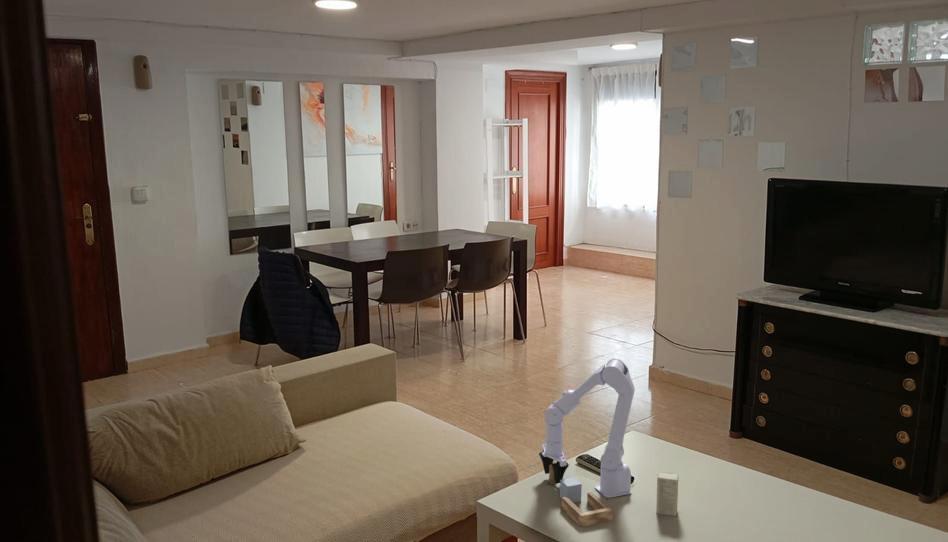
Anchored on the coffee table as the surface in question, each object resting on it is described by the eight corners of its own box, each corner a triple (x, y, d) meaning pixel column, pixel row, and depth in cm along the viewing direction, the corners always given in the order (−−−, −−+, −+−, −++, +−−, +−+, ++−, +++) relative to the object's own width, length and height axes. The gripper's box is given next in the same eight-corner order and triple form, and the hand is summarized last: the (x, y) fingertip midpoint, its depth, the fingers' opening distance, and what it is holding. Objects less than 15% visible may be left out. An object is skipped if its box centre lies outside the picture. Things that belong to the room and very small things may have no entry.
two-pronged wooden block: (591, 501, 244) (591, 491, 244) (612, 520, 233) (612, 509, 232) (561, 507, 241) (561, 497, 240) (580, 526, 229) (581, 515, 228)
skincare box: (677, 510, 239) (679, 474, 237) (676, 517, 235) (678, 480, 233) (656, 507, 241) (658, 471, 239) (655, 513, 237) (657, 477, 235)
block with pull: (557, 479, 260) (558, 463, 259) (581, 501, 245) (581, 483, 244) (544, 481, 258) (544, 465, 257) (567, 504, 243) (567, 486, 242)
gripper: (533, 433, 260) (533, 470, 263) (553, 449, 247) (552, 489, 249) (552, 430, 263) (551, 467, 265) (572, 446, 249) (571, 485, 252)
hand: (553, 477), depth 257 cm, fingers open, 7 cm apart
